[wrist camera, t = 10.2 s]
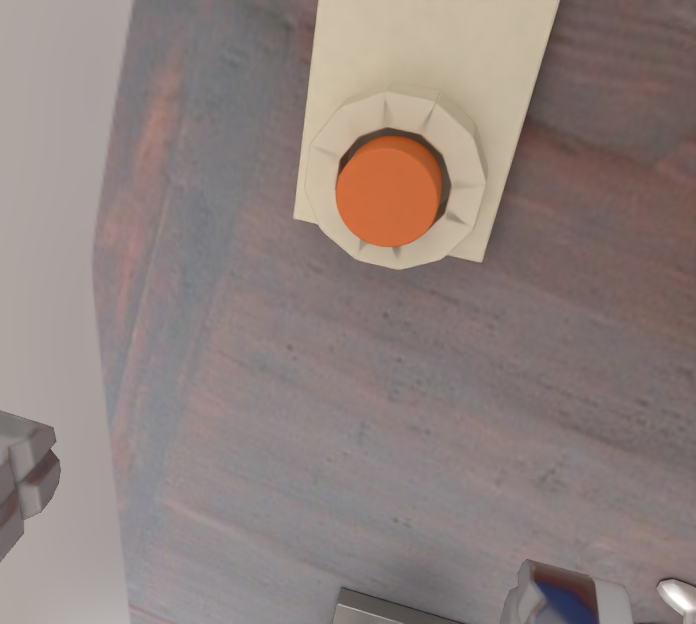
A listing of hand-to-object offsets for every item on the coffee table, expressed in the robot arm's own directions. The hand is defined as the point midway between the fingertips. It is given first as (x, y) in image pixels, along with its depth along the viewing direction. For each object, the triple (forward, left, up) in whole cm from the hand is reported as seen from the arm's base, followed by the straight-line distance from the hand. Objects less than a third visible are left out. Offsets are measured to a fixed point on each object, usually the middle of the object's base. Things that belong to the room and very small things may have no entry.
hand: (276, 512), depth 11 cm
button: (0, -1, -15) cm, 15 cm away
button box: (-2, -1, -19) cm, 19 cm away
